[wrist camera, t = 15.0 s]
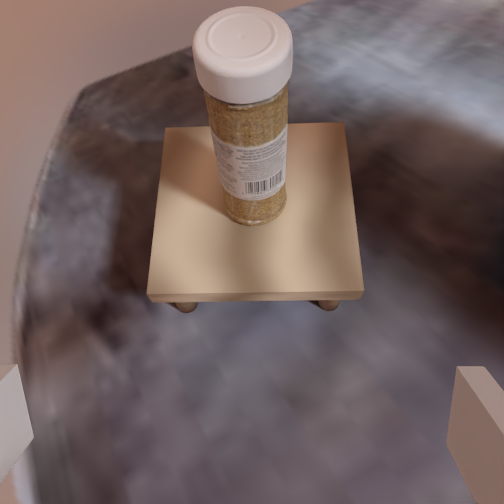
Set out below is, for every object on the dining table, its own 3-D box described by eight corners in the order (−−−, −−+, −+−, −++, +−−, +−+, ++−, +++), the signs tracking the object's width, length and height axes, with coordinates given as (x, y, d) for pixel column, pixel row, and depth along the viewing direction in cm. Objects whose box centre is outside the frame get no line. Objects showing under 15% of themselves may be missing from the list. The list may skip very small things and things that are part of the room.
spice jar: (282, 171, 33) (286, -4, 21) (290, 225, 31) (300, 65, 19) (220, 178, 33) (188, 6, 21) (224, 232, 31) (191, 77, 19)
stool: (334, 169, 40) (344, 121, 34) (349, 319, 34) (364, 290, 28) (179, 173, 40) (165, 127, 35) (166, 321, 34) (146, 294, 29)
